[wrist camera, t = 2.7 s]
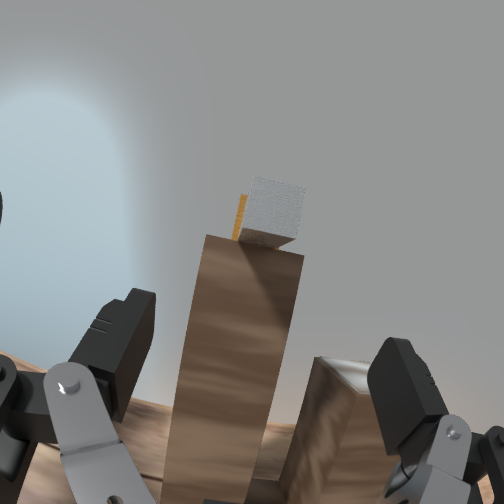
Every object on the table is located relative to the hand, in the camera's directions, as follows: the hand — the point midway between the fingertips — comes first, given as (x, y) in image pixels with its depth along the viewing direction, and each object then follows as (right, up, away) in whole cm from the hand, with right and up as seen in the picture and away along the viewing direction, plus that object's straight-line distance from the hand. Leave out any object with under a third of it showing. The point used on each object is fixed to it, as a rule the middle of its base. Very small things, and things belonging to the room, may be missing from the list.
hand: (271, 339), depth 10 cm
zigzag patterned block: (0, -30, +19) cm, 36 cm away
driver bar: (0, +3, +16) cm, 17 cm away
